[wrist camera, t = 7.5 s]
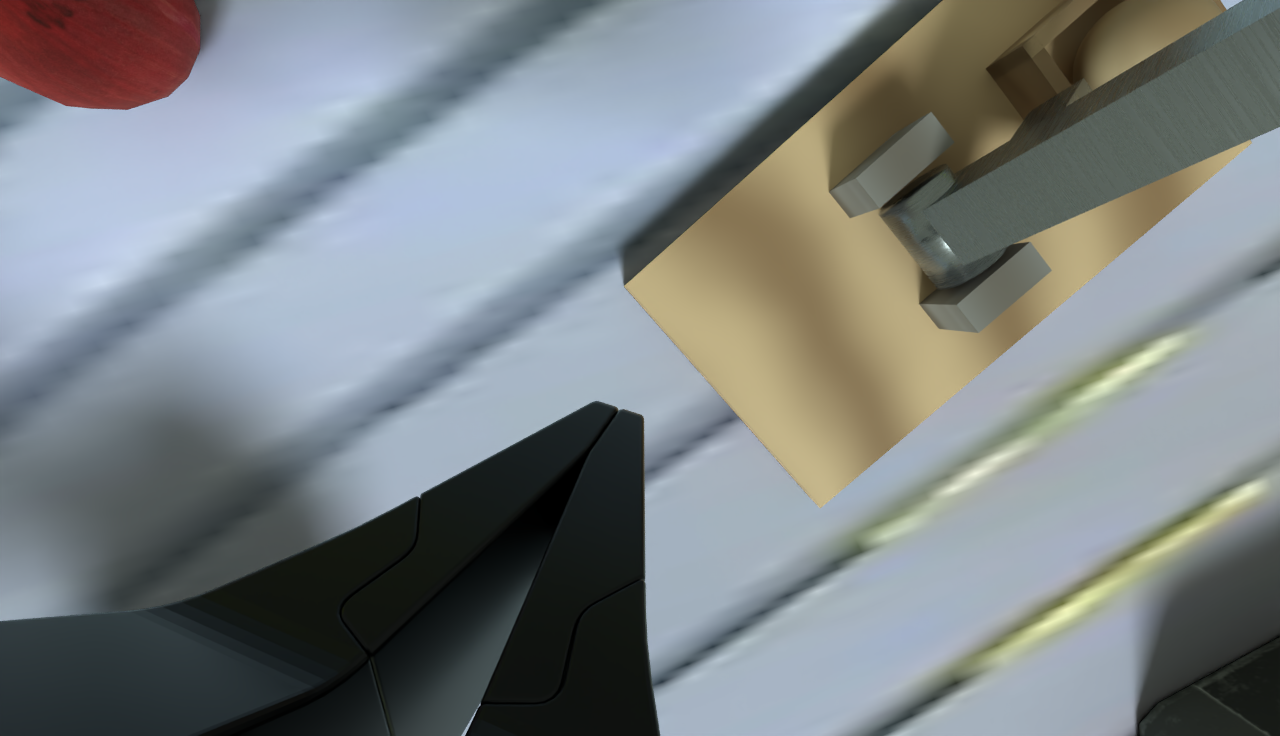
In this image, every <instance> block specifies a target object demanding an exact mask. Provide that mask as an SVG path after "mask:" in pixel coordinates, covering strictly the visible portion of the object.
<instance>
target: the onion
mask: <svg viewBox="0 0 1280 736" xmlns="http://www.w3.org/2000/svg"><path fill="white" fill-rule="evenodd" d="M199 51H200V14H199V12H198V9H197V7H196V4H195V2H194V0H0V77H2V78H4V79H6V80H8V81H11V82H13V83H15V84H17V85H20V86H22V87H24V88H26V89H29V90H31V91H33V92H36V93H38V94H40V95H42V96H45V97H47V98H49V99H52V100H54V101H56V102H58V103H61V104H63V105H65V106H72V107H82V108H92V109H122V110H128V109H131V108H134V107H137V106H140V105H143V104H146V103H150V102H153V101H156V100H159V99H162V98H165V97H168V96H169V95H170V94H171V93H172V92H173V91H175V90H176V89H177V88H178V87H179V86H180V85H181V84H182V83H183V82H184V81H185V80H186V79H187V78H188V77H189V74H190V72H191V70H192V67H193V65H194V63H195V60H196V58H197V56H198V53H199Z"/></svg>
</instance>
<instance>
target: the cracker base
mask: <svg viewBox="0 0 1280 736" xmlns="http://www.w3.org/2000/svg"><path fill="white" fill-rule="evenodd" d="M1123 1H1125V0H943V1H941V2H940V3H939V4H938V5H937V6H936V7H935V8H934V9H933V10H931V11H930V12H929V13H928V14H927V15H926V16H925V17H924V18H923V19H921V20H920V21H919V22H918V23H917V24H916V25H915V26H914V27H912V28H911V29H910V30H909V31H908V32H907V33H906V34H905V35H904V36H902V37H901V38H900V39H899V40H898V41H897V42H896V43H895V44H894V45H892V46H891V47H890V48H889V49H888V50H887V51H886V52H885V53H883V54H882V55H881V56H880V57H879V58H878V59H877V60H876V61H875V62H873V63H872V64H871V65H870V66H869V67H868V68H867V69H866V70H865V71H863V72H862V73H861V74H860V75H859V76H858V77H857V78H856V79H855V80H853V81H852V82H851V83H850V84H849V85H848V86H847V87H846V88H844V89H843V90H842V91H841V92H840V93H839V94H838V95H837V96H836V97H834V98H833V99H832V100H831V101H830V102H829V103H828V104H827V105H826V106H824V107H823V108H822V109H821V110H820V111H819V112H818V113H817V114H815V115H814V116H813V117H812V118H811V119H810V120H809V121H808V122H807V123H805V124H804V125H803V126H802V127H801V128H800V129H799V130H798V131H797V132H795V133H794V134H793V135H792V136H791V137H790V138H789V139H788V140H787V141H785V142H784V143H783V144H782V145H781V146H780V147H779V148H778V149H776V150H775V151H774V152H773V153H772V154H771V155H770V156H769V157H768V158H766V159H765V160H764V161H763V162H762V163H761V164H760V165H759V166H758V167H756V168H755V169H754V170H753V171H752V172H751V173H750V174H749V175H747V176H746V177H745V178H744V179H743V180H742V181H741V182H740V183H739V184H737V185H736V186H735V187H734V188H733V189H732V190H731V191H730V192H729V193H727V194H726V195H725V196H724V197H723V198H722V199H721V200H720V201H719V202H717V203H716V204H715V205H714V206H713V207H712V208H711V209H710V210H708V211H707V212H706V213H705V214H704V215H703V216H702V217H701V218H700V219H698V220H697V221H696V222H695V223H694V224H693V225H692V226H691V227H690V228H688V229H687V230H686V231H685V232H684V233H683V234H682V235H681V236H679V237H678V238H677V239H676V240H675V241H674V242H673V243H672V244H671V245H669V246H668V247H667V248H666V249H665V250H664V251H663V252H662V253H661V254H659V255H658V256H657V257H656V258H655V259H654V260H653V261H652V262H650V263H649V264H648V265H647V266H646V267H645V268H644V269H643V270H642V271H640V272H639V273H638V274H637V275H636V276H635V277H634V278H633V279H632V280H630V281H629V282H628V283H627V284H626V285H625V286H624V287H625V288H626V289H627V291H628V292H629V293H630V294H631V295H632V296H633V297H634V299H635V300H636V301H637V302H638V303H639V304H640V305H641V306H642V308H643V309H644V310H645V311H646V312H647V313H648V314H649V316H650V317H651V318H652V319H653V320H654V321H655V322H656V324H657V325H658V326H659V327H660V328H661V329H662V330H663V331H664V333H665V334H666V335H667V336H668V337H669V338H670V339H671V341H672V342H673V343H674V344H675V345H676V346H677V347H678V348H679V350H680V351H681V352H682V353H683V354H684V355H685V356H686V358H687V359H688V360H689V361H690V362H691V363H692V364H693V366H694V367H695V368H696V369H697V370H698V371H699V372H700V373H701V375H702V376H703V377H704V378H705V379H706V380H707V381H708V383H709V384H710V385H711V386H712V387H713V388H714V389H715V390H716V392H717V393H718V394H719V395H720V396H721V397H722V398H723V400H724V401H725V402H726V403H727V404H728V405H729V406H730V408H731V409H732V410H733V411H734V412H735V413H736V414H737V415H738V417H739V418H740V419H741V420H742V421H743V422H744V423H745V425H746V426H747V427H748V428H749V429H750V430H751V431H752V433H753V434H754V435H755V436H756V437H757V438H758V439H759V440H760V442H761V443H762V444H763V445H764V446H765V447H766V448H767V450H768V451H769V452H770V453H771V454H772V455H773V456H774V457H775V459H776V460H777V461H778V462H779V463H780V464H781V465H782V467H783V468H784V469H785V470H786V471H787V472H788V473H789V475H790V476H791V477H792V478H793V479H794V480H795V481H796V482H797V484H798V485H799V486H800V487H801V488H802V489H803V490H804V492H805V493H806V494H807V495H808V496H809V497H810V498H811V499H812V500H813V501H814V502H815V503H816V504H817V505H818V507H819V508H821V507H822V506H824V505H825V504H826V503H827V502H828V501H829V500H831V499H832V498H833V497H834V496H835V495H837V494H838V493H839V492H840V491H841V490H842V489H844V488H845V487H846V486H847V485H848V484H850V483H851V482H852V481H853V480H854V479H855V478H857V477H858V476H859V475H860V474H861V473H863V472H864V471H865V470H866V469H867V468H868V467H870V466H871V465H872V464H873V463H874V462H876V461H877V460H878V459H879V458H880V457H881V456H883V455H884V454H885V453H886V452H887V451H889V450H890V449H891V448H892V447H893V446H894V445H896V444H897V443H898V442H899V441H900V440H902V439H903V438H904V437H905V436H906V435H907V434H909V433H910V432H911V431H912V430H913V429H915V428H916V427H917V426H918V425H919V424H920V423H922V422H923V421H924V420H925V419H926V418H928V417H929V416H930V415H931V414H932V413H933V412H935V411H936V410H937V409H938V408H939V407H941V406H942V405H943V404H944V403H945V402H946V401H948V400H949V399H950V398H951V397H952V396H954V395H955V394H956V393H957V392H958V391H959V390H961V389H962V388H963V387H964V386H965V385H967V384H968V383H969V382H970V381H971V380H972V379H974V378H975V377H976V376H977V375H978V374H980V373H981V372H982V371H983V370H984V369H985V368H987V367H988V366H989V365H990V364H991V363H993V362H994V361H995V360H996V359H997V358H998V357H1000V356H1001V355H1002V354H1003V353H1004V352H1006V351H1007V350H1008V349H1009V348H1010V347H1011V346H1013V345H1014V344H1015V343H1016V342H1017V341H1019V340H1020V339H1021V338H1022V337H1023V336H1024V335H1026V334H1027V333H1028V332H1029V331H1030V330H1032V329H1033V328H1034V327H1035V326H1036V325H1037V324H1039V323H1040V322H1041V321H1042V320H1043V319H1045V318H1046V317H1047V316H1048V315H1049V314H1050V313H1052V312H1053V311H1054V310H1055V309H1056V308H1058V307H1059V306H1060V305H1061V304H1062V303H1063V302H1065V301H1066V300H1067V299H1068V298H1069V297H1071V296H1072V295H1073V294H1074V293H1075V292H1076V291H1078V290H1079V289H1080V288H1081V287H1082V286H1084V285H1085V284H1086V283H1087V282H1088V281H1089V280H1091V279H1092V278H1093V277H1094V276H1095V275H1097V274H1098V273H1099V272H1100V271H1101V270H1102V269H1104V268H1105V267H1106V266H1107V265H1108V264H1110V263H1111V262H1112V261H1113V260H1114V259H1115V258H1117V257H1118V256H1119V255H1120V254H1121V253H1123V252H1124V251H1125V250H1126V249H1127V248H1128V247H1130V246H1131V245H1132V244H1133V243H1134V242H1136V241H1137V240H1138V239H1139V238H1140V237H1141V236H1143V235H1144V234H1145V233H1146V232H1147V231H1149V230H1150V229H1151V228H1152V227H1153V226H1154V225H1156V224H1157V223H1158V222H1159V221H1160V220H1162V219H1163V218H1164V217H1165V216H1166V215H1167V214H1169V213H1170V212H1171V211H1172V210H1173V209H1175V208H1176V207H1177V206H1178V205H1179V204H1180V203H1182V202H1183V201H1184V200H1185V199H1186V198H1188V197H1189V196H1190V195H1191V194H1192V193H1193V192H1195V191H1196V190H1197V189H1198V188H1199V187H1201V186H1202V185H1203V184H1204V183H1205V182H1206V181H1208V180H1209V179H1210V178H1211V177H1212V176H1214V175H1215V174H1216V173H1217V172H1218V171H1219V170H1221V169H1222V168H1223V167H1224V166H1225V165H1227V164H1228V163H1229V162H1230V161H1231V160H1232V159H1234V158H1235V157H1236V156H1237V155H1238V154H1240V153H1241V152H1242V151H1243V150H1244V149H1245V148H1247V147H1248V146H1249V145H1250V144H1251V143H1252V142H1251V141H1250V140H1249V141H1246V142H1244V143H1242V144H1239V145H1237V146H1235V147H1233V148H1230V149H1228V150H1226V151H1224V152H1221V153H1219V154H1217V155H1214V156H1212V157H1210V158H1208V159H1205V160H1203V161H1201V162H1198V163H1196V164H1194V165H1192V166H1189V167H1187V168H1185V169H1183V170H1180V171H1178V172H1176V173H1173V174H1171V175H1169V176H1167V177H1164V178H1162V179H1160V180H1158V181H1155V182H1153V183H1151V184H1148V185H1146V186H1144V187H1142V188H1139V189H1137V190H1135V191H1133V192H1130V193H1128V194H1126V195H1123V196H1121V197H1119V198H1117V199H1114V200H1112V201H1110V202H1107V203H1105V204H1103V205H1101V206H1098V207H1096V208H1094V209H1092V210H1089V211H1087V212H1085V213H1082V214H1080V215H1078V216H1076V217H1073V218H1071V219H1069V220H1067V221H1064V222H1062V223H1060V224H1057V225H1055V226H1053V227H1051V228H1048V229H1046V230H1044V231H1042V232H1039V233H1037V234H1035V235H1032V236H1030V237H1028V238H1026V239H1023V240H1021V241H1019V242H1016V243H1014V244H1012V245H1010V246H1007V249H1006V251H1005V252H1004V253H1003V255H1002V256H1001V257H1000V258H999V259H998V260H997V261H996V262H995V263H994V264H992V265H991V266H990V267H989V268H987V269H986V270H984V271H983V272H982V273H980V274H979V275H977V276H975V277H974V278H972V279H970V280H968V281H966V282H964V283H962V284H960V285H958V286H955V287H952V288H949V289H937V288H936V286H935V285H934V284H933V283H932V281H931V280H930V279H929V278H928V276H927V275H926V274H925V273H924V271H923V270H922V269H921V268H920V266H919V265H918V264H917V262H916V261H915V260H914V259H913V257H912V256H911V255H910V254H909V252H908V251H907V250H906V249H905V247H904V246H903V245H902V244H901V242H900V241H899V240H898V239H897V237H896V236H895V235H894V234H893V232H892V231H891V230H890V229H889V227H888V226H887V225H886V224H885V222H884V221H883V220H882V219H881V217H880V216H879V212H880V211H881V209H882V208H883V207H884V206H885V205H886V204H887V203H888V202H889V201H890V200H891V199H892V198H893V197H894V196H895V195H897V194H898V193H899V192H900V191H901V190H903V189H904V188H905V187H907V186H908V185H909V184H911V183H912V182H913V181H915V180H916V179H918V178H919V177H920V176H922V175H924V174H925V173H927V172H928V171H930V170H932V169H934V168H935V167H937V166H940V165H942V164H947V165H948V166H949V167H950V169H951V170H952V171H953V173H954V174H955V173H956V172H958V171H960V170H961V169H963V168H965V167H966V166H968V165H970V164H971V163H973V162H975V161H976V160H978V159H980V158H981V157H983V156H985V155H986V154H988V153H990V152H991V151H993V150H995V149H996V148H998V147H1000V146H1001V145H1003V144H1005V143H1006V142H1008V141H1010V140H1011V138H1012V137H1013V135H1014V134H1015V132H1016V131H1017V129H1018V128H1019V126H1020V125H1021V124H1022V122H1023V121H1024V119H1025V118H1026V116H1027V115H1028V113H1029V112H1030V111H1031V110H1033V109H1035V108H1036V107H1038V106H1039V105H1041V104H1043V103H1044V102H1046V101H1047V100H1049V99H1051V98H1052V97H1054V96H1055V95H1057V94H1059V93H1060V92H1062V91H1063V90H1065V89H1067V88H1068V87H1070V86H1071V85H1073V84H1074V82H1073V64H1074V60H1075V56H1076V53H1077V51H1078V48H1079V46H1080V44H1081V42H1082V41H1083V39H1084V37H1085V36H1086V34H1087V33H1088V32H1089V30H1090V29H1091V28H1092V27H1093V26H1094V24H1095V23H1096V22H1097V21H1098V20H1099V19H1100V18H1101V17H1103V16H1104V15H1105V14H1106V13H1107V12H1108V11H1110V10H1111V9H1112V8H1114V7H1115V6H1117V5H1118V4H1120V3H1121V2H1123ZM1213 1H1214V2H1215V3H1216V4H1217V5H1218V7H1219V8H1220V10H1221V12H1222V13H1223V12H1224V11H1226V8H1225V7H1224V5H1223V4H1222V2H1221V1H1220V0H1213Z"/></svg>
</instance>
